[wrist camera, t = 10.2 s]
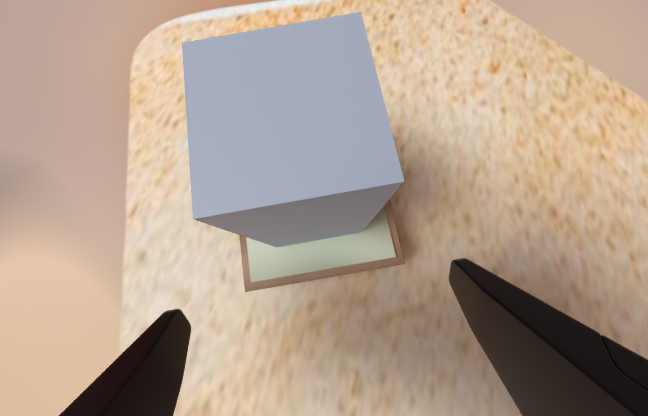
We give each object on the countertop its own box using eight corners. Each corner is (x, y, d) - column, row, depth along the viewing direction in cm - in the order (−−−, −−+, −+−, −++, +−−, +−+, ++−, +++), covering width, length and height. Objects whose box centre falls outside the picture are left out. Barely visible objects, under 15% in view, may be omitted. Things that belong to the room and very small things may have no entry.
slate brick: (361, 232, 16) (404, 181, 7) (276, 247, 16) (193, 219, 7) (344, 153, 18) (360, 12, 8) (265, 167, 17) (182, 42, 8)
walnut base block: (392, 264, 20) (405, 263, 16) (260, 287, 19) (243, 292, 16) (364, 143, 22) (371, 118, 18) (246, 164, 22) (229, 143, 18)
